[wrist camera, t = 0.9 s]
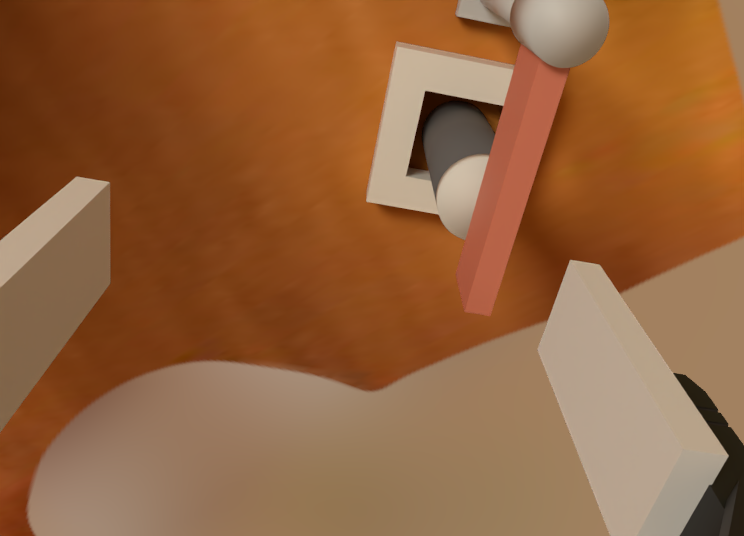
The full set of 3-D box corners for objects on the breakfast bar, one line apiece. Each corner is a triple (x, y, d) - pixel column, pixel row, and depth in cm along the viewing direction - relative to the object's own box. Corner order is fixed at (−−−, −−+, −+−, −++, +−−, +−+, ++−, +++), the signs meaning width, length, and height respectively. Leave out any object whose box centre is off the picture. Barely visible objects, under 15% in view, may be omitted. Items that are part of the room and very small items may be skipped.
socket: (366, 190, 45) (363, 281, 33) (416, -62, 38) (435, -59, 26) (506, 216, 46) (551, 313, 34) (582, -27, 38) (671, -8, 27)
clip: (440, 271, 32) (448, 313, 29) (521, -29, 26) (544, -22, 23) (494, 280, 33) (509, 323, 29) (587, -15, 26) (620, -6, 23)
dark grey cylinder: (415, 159, 44) (428, 233, 33) (430, 94, 42) (449, 151, 31) (478, 171, 44) (511, 248, 33) (496, 107, 42) (537, 168, 31)
